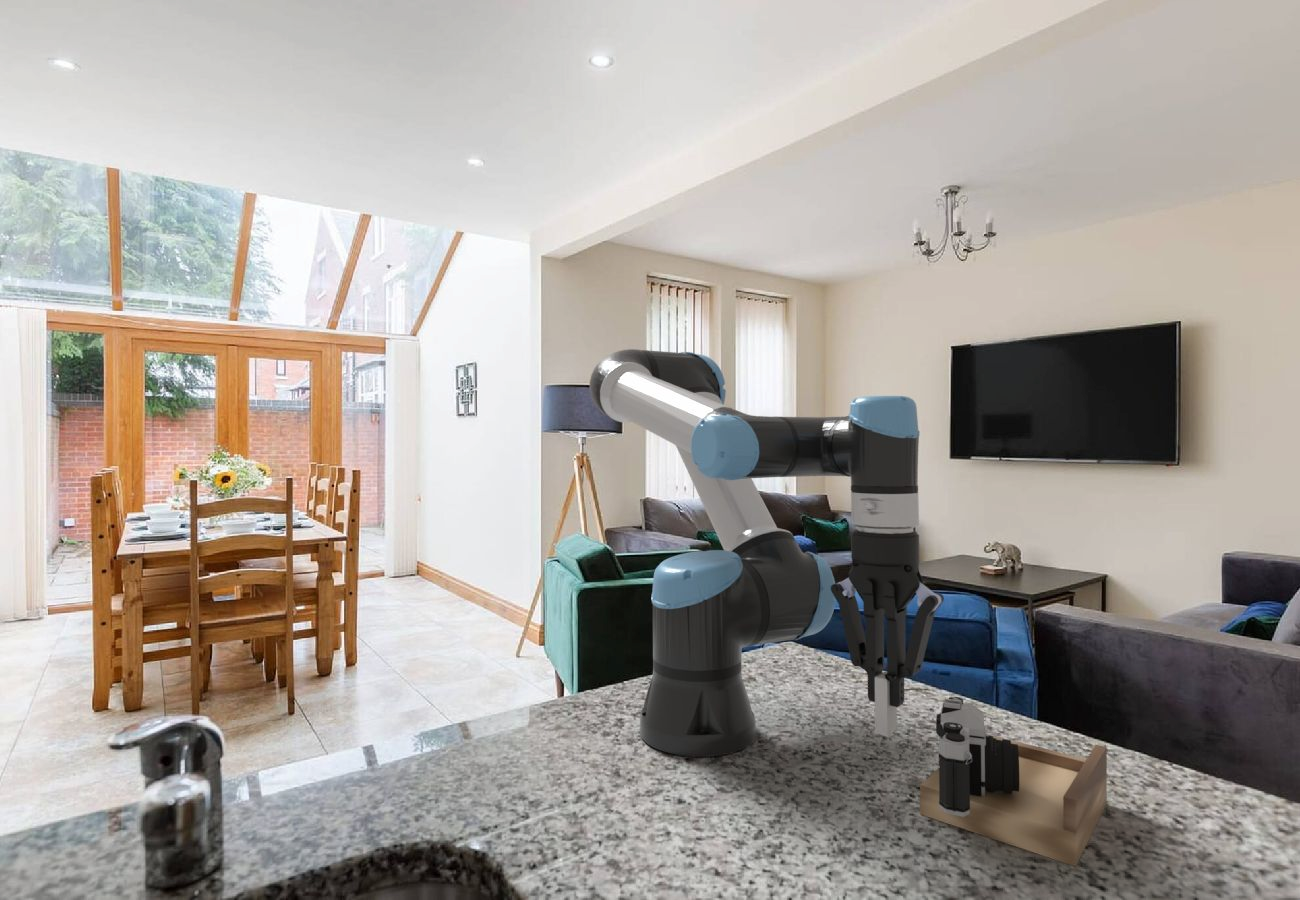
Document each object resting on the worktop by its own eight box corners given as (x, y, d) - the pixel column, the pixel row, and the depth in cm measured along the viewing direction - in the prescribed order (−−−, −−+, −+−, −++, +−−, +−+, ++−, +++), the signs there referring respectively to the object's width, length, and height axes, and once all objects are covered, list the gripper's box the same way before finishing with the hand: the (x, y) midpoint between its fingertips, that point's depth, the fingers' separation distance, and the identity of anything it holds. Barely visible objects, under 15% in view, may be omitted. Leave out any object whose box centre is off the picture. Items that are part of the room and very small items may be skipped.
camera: (1027, 831, 65) (1028, 729, 66) (935, 814, 68) (936, 717, 69) (1012, 779, 77) (1013, 694, 78) (934, 767, 80) (935, 685, 81)
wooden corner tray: (920, 814, 74) (920, 755, 74) (968, 765, 85) (968, 714, 85) (1075, 866, 65) (1075, 800, 65) (1106, 803, 76) (1106, 746, 76)
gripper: (818, 528, 86) (819, 726, 86) (928, 536, 77) (930, 757, 77) (847, 522, 91) (848, 709, 91) (953, 529, 83) (954, 735, 83)
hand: (886, 731), depth 84 cm, fingers closed
